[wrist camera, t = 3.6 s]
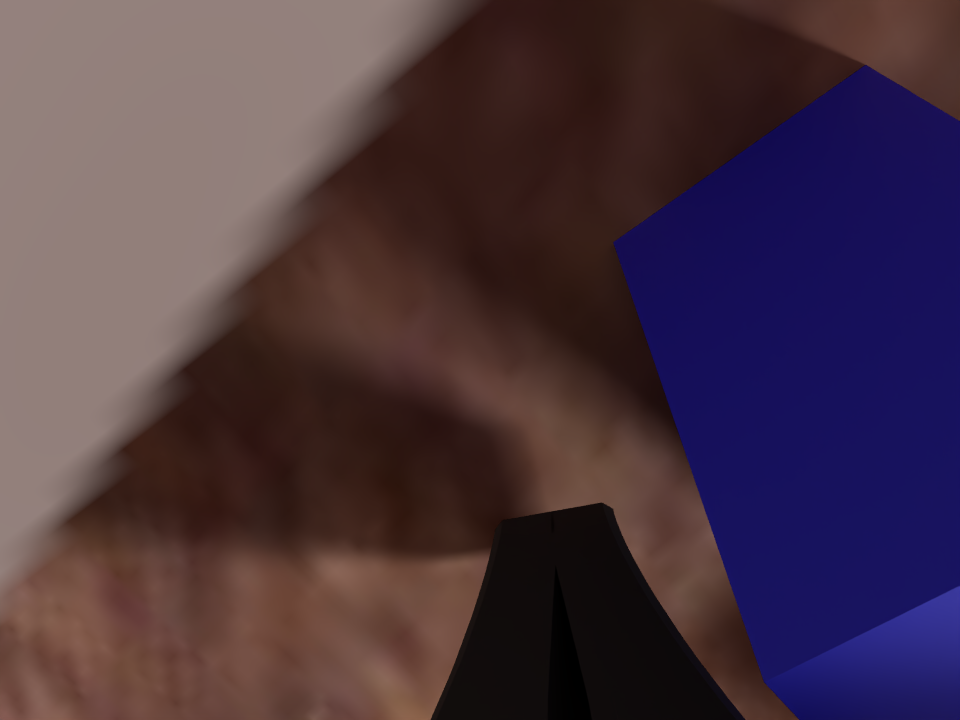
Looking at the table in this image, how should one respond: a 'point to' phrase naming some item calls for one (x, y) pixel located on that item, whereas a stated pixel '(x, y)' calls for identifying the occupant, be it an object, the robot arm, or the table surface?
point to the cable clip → (825, 393)
